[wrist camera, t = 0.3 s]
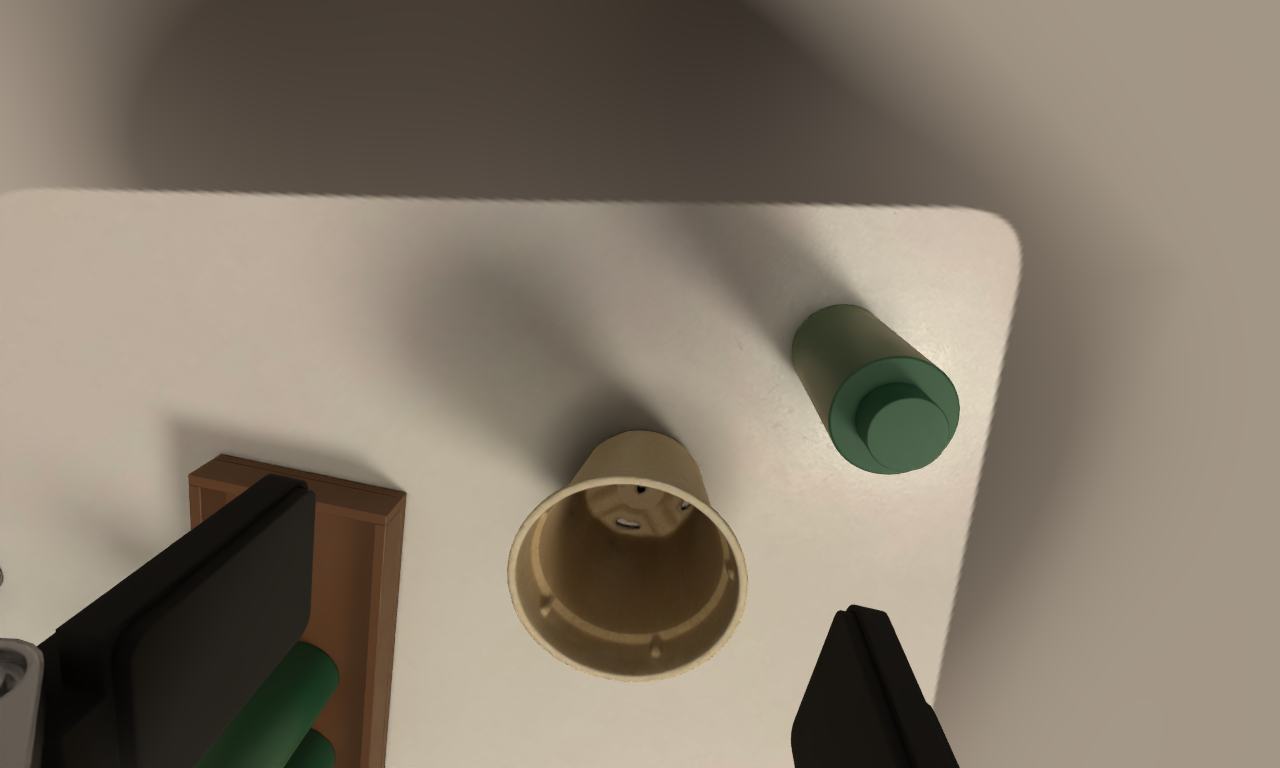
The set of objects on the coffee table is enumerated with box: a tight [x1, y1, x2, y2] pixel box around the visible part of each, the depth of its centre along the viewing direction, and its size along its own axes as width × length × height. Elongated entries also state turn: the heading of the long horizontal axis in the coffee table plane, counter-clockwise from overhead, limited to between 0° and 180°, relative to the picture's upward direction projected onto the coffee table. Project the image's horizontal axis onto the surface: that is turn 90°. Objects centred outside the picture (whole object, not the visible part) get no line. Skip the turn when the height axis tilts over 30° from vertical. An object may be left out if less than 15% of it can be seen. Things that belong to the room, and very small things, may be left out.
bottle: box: [792, 305, 960, 474], centre depth 25 cm, size 4×4×10 cm
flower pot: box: [507, 430, 748, 682], centre depth 29 cm, size 9×9×9 cm
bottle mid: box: [193, 642, 339, 768], centre depth 33 cm, size 4×4×10 cm
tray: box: [188, 455, 406, 768], centre depth 37 cm, size 25×10×2 cm, turn 169°
